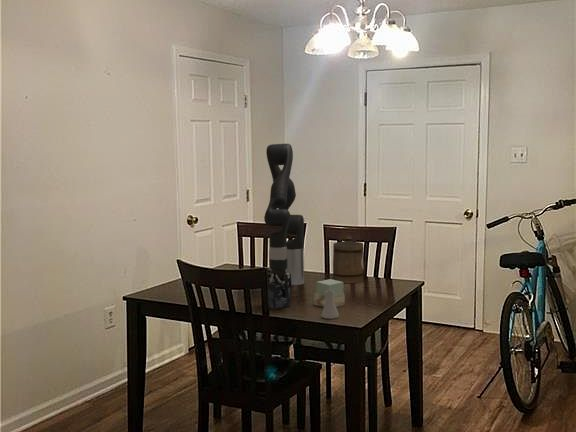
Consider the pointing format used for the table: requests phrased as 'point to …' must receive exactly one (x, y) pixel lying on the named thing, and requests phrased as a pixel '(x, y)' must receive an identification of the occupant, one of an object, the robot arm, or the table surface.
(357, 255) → the wooden container
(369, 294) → the table surface
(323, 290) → the tower top
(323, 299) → the tower base
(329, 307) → the flask
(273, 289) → the box
